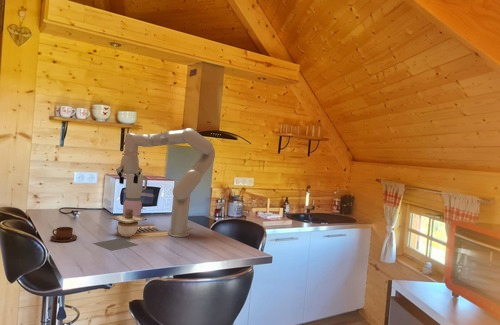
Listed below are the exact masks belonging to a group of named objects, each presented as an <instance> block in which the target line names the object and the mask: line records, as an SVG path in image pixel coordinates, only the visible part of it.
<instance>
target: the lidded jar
mask: <svg viewBox="0 0 500 325" xmlns="http://www.w3.org/2000/svg"><path fill="white" fill-rule="evenodd" d="M138 227H139V221H138V222H132V223H123V222H120V221H117V229H118V230H117V231H118V233H119V235H121V237H127V238H128V237H130V238H131V237H133V236H135V235H136V233H137V232H138ZM132 235H133V236H132Z"/></svg>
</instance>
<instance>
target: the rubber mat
mask: <svg viewBox="0 0 500 325" xmlns="http://www.w3.org/2000/svg"><path fill="white" fill-rule="evenodd" d="M92 244H93V245H94V246H98V247H100V248H103V249H105V250H107V251H111V252H113V251H118V250H123V249H126V248H132V247H137V246H139V244H137V243H134V242H131V241H128V240H126V239H123V238H115V239H109V240H103V241H97V242H92Z"/></svg>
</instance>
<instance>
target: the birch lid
mask: <svg viewBox="0 0 500 325" xmlns="http://www.w3.org/2000/svg"><path fill="white" fill-rule="evenodd" d="M109 219H110V220H113V221H117V222H119V221H120V222H123V223H132V222H138V223H139V222H144V221H147V220H148V219H147V218H145V217H142V216H141V217H139V216H135V215H133V210H132V209H126V211H125V215H123V214H122V215H115V216H110V217H109Z"/></svg>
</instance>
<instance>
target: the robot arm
mask: <svg viewBox="0 0 500 325" xmlns="http://www.w3.org/2000/svg"><path fill="white" fill-rule="evenodd" d="M124 139H125V140H124V152H123V155H122V157H121V160H120V165H119V167H117V168H116V170H115V171H116V174H117V175H118V177H119V180H118V181H119V184H120V185H123V184H125V177H124V176H125V175H126V174H134V175H135V176H134V180H133V183H136V184H137V183H138V177H139V175H140V174H142V171H143V169H142V168H141V167H140V166H139V165H140V163H139V162H140V161H139V157H138V156H139V154H140V153H139V147H143V148H150V147H151V148H153V147H160V146H175V145H182V144H183V145H184V144H187V145H189V146H191V148H193V149H195V150H196V151H197V152H199V153H200V156H199V158H198V159H197V160H196V162H195V163H193V165H192V166H191V167H190V168H189V169H188V170H186V172H185V173H184V174H183V175H182V177H181V178H180V179H179V181H178V182H177V183H176V185H175V186H173V188H172V195H173V201H172V202H173V204H172V213H171V223H170V226H171V227H170V230H169V231H168V232H167V235H168V236H170V237H175V238H185V237H189V236H190V232H189V231H191V230H193V226H188V223H189V222H188V220H189V210H190V202H191V201H190V200H191V194H192V192H194V190H195V189H196V188H197V187H198V185H199V184H200V182H202V181H201V180H202V178H203V177H204V176H205V174H206V173H207V172H208V170H209V169H210V168H211V166H213V163H214V161H215V158H216V152H215V148H214V145H213V143H212V142H211V141H210V140H209V139H207V138H206V137H204V136H203V135H201V134H200V133H199V132H198V131H196V130H195V128H192V127H186V128H182V129H173V130H167V131H164V132H159V133H151V134H150V133H149V134H147V133H134V132H127V133H125V137H124Z"/></svg>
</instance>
